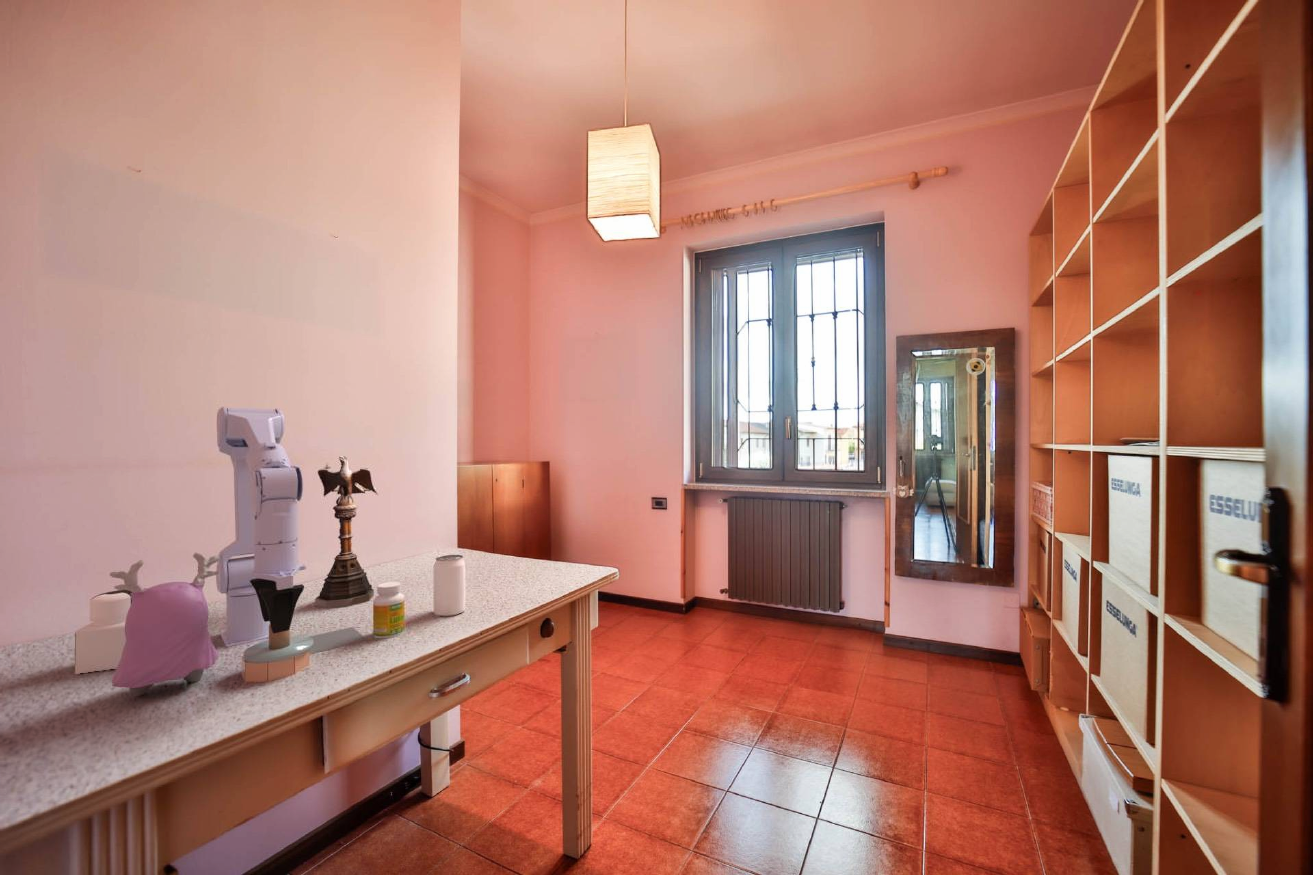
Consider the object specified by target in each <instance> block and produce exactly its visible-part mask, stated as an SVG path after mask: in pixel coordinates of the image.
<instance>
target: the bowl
mask: <svg viewBox="0 0 1313 875" xmlns="http://www.w3.org/2000/svg"><path fill="white" fill-rule="evenodd" d="M309 666H310V655H309V651H307V652H305V653H303V654H300V655H298V656H295V657H292V658H288V659H284V660H280V661H275V662H267V663H249V662H246V661H244V660H243V655H242V656H241V676H242V679H243V680H244V682H245V683H248V682H249V683H251V682H253V683H254V682H256V683H257V682H260V683H261V682H263V683H264V682H265V683H266V682H270V681H274V680H279V679H282V678H287V677H290V676H293V675H294V676H295V675H296V674H297V673H299V672H301V671H302V670H304V669H305V668H307V667H309Z"/></svg>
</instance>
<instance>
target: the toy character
mask: <svg viewBox="0 0 1313 875" xmlns="http://www.w3.org/2000/svg"><path fill="white" fill-rule="evenodd" d="M192 557H193V558H194V559H195V560H196V562H197V575H195V577H194V579H193V581H192V582H186V581H172V582H163V583H160V584H156V585H153V586H150V587H147V588H146V587H145V588H144V587H142V585H141V584H140V583H139V579H138V573H139V571H140V569H141V568H142V567H143V565H144V561H143V560H141V559H140V560H138V561H137V562H135V563H133V564H132V565H131V566H130V569H129V570H128V571H127V572H126V571H124V570H123V571H121V570H120V571H112V572H110V573H109V576H110V577H111V578H115V579H121V580H123V583H124V584H117V585H114V586H113V588H114V589H115V590H116V591H118V590H129V591H131V592H132V593H131V594H130V595H131V599H132V603H131V606H130V608H129V610H128V613H127V617H126V622H125V637H126V642H125V645H124V648H123V652H122V656H121V659H120V662H119V664H118V666H117V669H115V672H114V674H113V676H112V680H111V683H112V685H111V687H114V688H129V691H130V693H131V694H132V696H134V697H138V698H139V697H141V696H142V695H144V694H145V693H146V692H147V691H148V690H149V689H150V688H152V686H154V684H158V683H163V682H168V681H176V680H181V679H183V680H185V681H187V682H188V683H196V682H197V683H198V682H199V681H201V680H202V677H203V674H204V672H205V670H207V669H210V668H211V667H212V666H214V665H215V664H216V661H217V659H219V657H220V654H219V652H218V650H217V649H216V648H215V646H214V644H213V642H212V638H211V635H210V632H209V631H210V630H209V628H208V622H209V608H208V603H207V600H206V597H205V593H204V591H203V588H204V586H205V583H206V581H205V579H207V578H209V577H213V576H216V575H217V574H219V573H220V571H216V570H210V567H212V565H213V564H215V563H217V561H218V560H219V557H218V555H212V556H210V557H209V558H208V559H207V558H206V557H204V555H203V554H202V553H200V552H194V553H193V555H192Z"/></svg>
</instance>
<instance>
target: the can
mask: <svg viewBox="0 0 1313 875" xmlns="http://www.w3.org/2000/svg"><path fill="white" fill-rule="evenodd" d="M432 579H433V582H432V583H433V591H432V592H433V614H434V615H436V616H439V617H444V618H445V617H453V616H452V615H454V616H457V614H458V615H460V614H459V613H461V614H462V613H464V612H465V610H466V562H465V561H464V556H463V555H461V554H447V555H440V556H437V557H436V558H435V562H434V564H433V578H432Z"/></svg>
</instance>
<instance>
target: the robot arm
mask: <svg viewBox="0 0 1313 875" xmlns="http://www.w3.org/2000/svg"><path fill="white" fill-rule="evenodd" d="M284 432H285V416H284V413H283V412H282V410H281V409H280V408H275V409H273V408H271V409H270V408H268V409H267V408H248V407H247V408H242V407H227V406H221V407H220V408H219V409H218V410H217V413H216V441H217V442H216V443H217V447H218V451H219V452H220V453H221V454H225V455H228V456H229V457H230V460H231V464H232V466H233V487H234V488H233V489H234V490H233V491H234V492H233V494H234V497H233V498H234V528H235V530H234V531H235V532H234V533H235V540H234V541H232V542H231V543H230V544H228V545H227V546H225V547H224V548H223V549H221V550H220V551H219V553H218V555H217V556H218V557H219V560H218V561H217V562H216V563H217V564H216V570H215V571H220V573H219V574H217V575H215V576H216V577H215V578H216V579H215V580H216V589H217V591H218V592H219V593H220V594H225V595H226V630H225V631H224V632H221V633H220V637H221V639H222V641H223V644H224V646H225V648H226V647H227V648H229V647H230V648H231V647H234V646H238V645H243V644H248V643H253V642H257V641H262V640H266V639H269V625H270V626H271V629H272V632H273V633H278V632H283V631H288V630H289V629H290V630H291V626H292V621H293V616H294V612H295V610H296V605H297V603H298V600H299V599H300V597H301V594H303V591H304V589H305V585H304V584H295V585H294V577H295V576H296V575H297V573H299V572H300V571H304V570H307V565H306V564H305V563H298V562H299V558H298V556H299V554H298V553H299V549H298V547H299V546H298V545H299V544H298V543H299V540H298V538H299V537H298V536H299V533H298V529H299V528H298V527H299V524H298V523H299V519H298V516H299V509H298V508H299V503H298V502H300V501H302V500H301V499H302V497H303V491H304V479H303V473H302V470H301V467H300V466H298V465H295V464H293V465H292V463H291V461H290V458H289V456H288V453H287V450H286V449H285V448H284V447H283V446H282V445H281V442H282V441H281V440H282V438H283V437H284V434H285V433H284ZM252 554H253V555H252ZM245 555H252V556H245ZM238 556H243V557H238ZM233 557H235V558H233Z"/></svg>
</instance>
